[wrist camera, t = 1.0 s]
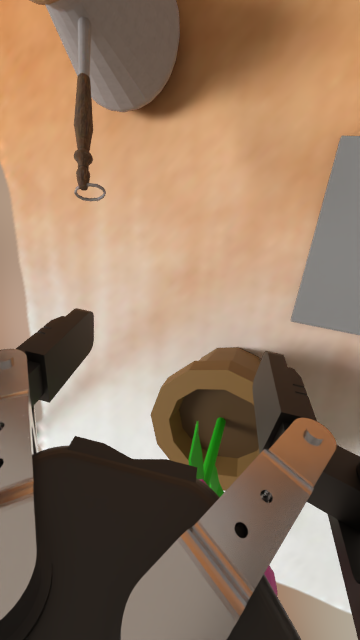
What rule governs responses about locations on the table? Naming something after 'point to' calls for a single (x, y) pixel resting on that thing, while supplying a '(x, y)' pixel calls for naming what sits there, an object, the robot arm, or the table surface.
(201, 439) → the flowerpot
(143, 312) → the table surface
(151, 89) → the coffee pot
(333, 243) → the rubber mat
